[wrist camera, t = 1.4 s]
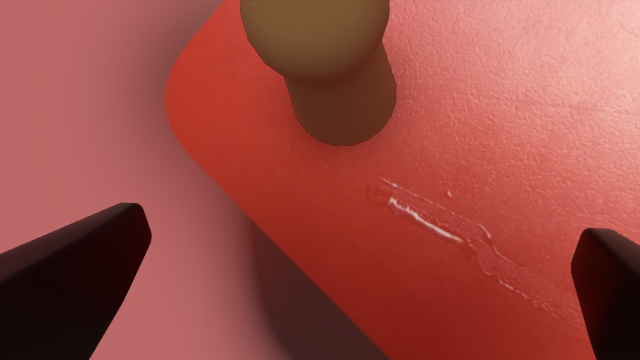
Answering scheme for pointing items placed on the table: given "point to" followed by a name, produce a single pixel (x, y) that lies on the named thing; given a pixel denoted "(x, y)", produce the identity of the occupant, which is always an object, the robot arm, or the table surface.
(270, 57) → the cork
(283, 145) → the table surface
